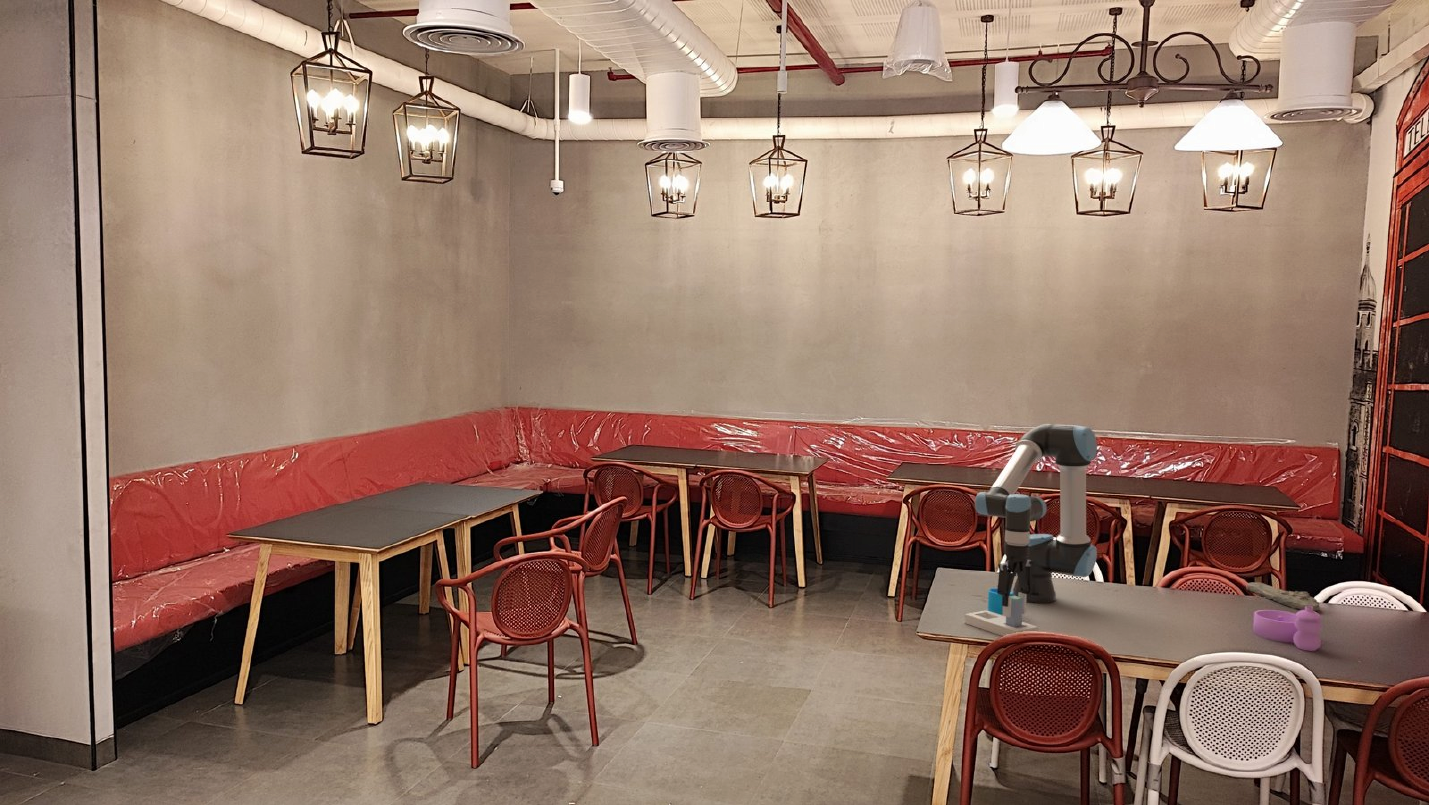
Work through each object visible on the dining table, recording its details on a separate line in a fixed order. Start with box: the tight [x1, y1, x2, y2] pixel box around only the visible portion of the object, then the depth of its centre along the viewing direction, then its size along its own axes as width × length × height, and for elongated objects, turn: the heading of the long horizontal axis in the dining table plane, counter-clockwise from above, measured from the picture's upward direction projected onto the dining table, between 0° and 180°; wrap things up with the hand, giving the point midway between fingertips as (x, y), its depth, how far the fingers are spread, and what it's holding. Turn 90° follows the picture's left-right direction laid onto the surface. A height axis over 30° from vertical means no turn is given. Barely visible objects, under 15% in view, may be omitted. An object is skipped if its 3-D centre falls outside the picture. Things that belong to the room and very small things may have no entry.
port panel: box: [964, 609, 1039, 637], centre depth 331 cm, size 22×10×3 cm, turn 31°
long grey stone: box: [1245, 581, 1320, 612], centre depth 375 cm, size 35×5×10 cm
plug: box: [1006, 596, 1023, 628], centre depth 326 cm, size 4×4×12 cm
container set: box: [1252, 606, 1323, 652], centre depth 325 cm, size 25×15×13 cm, turn 3°
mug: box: [987, 587, 1013, 615], centre depth 350 cm, size 12×8×8 cm
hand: (1014, 614), depth 326 cm, fingers open, 6 cm apart
